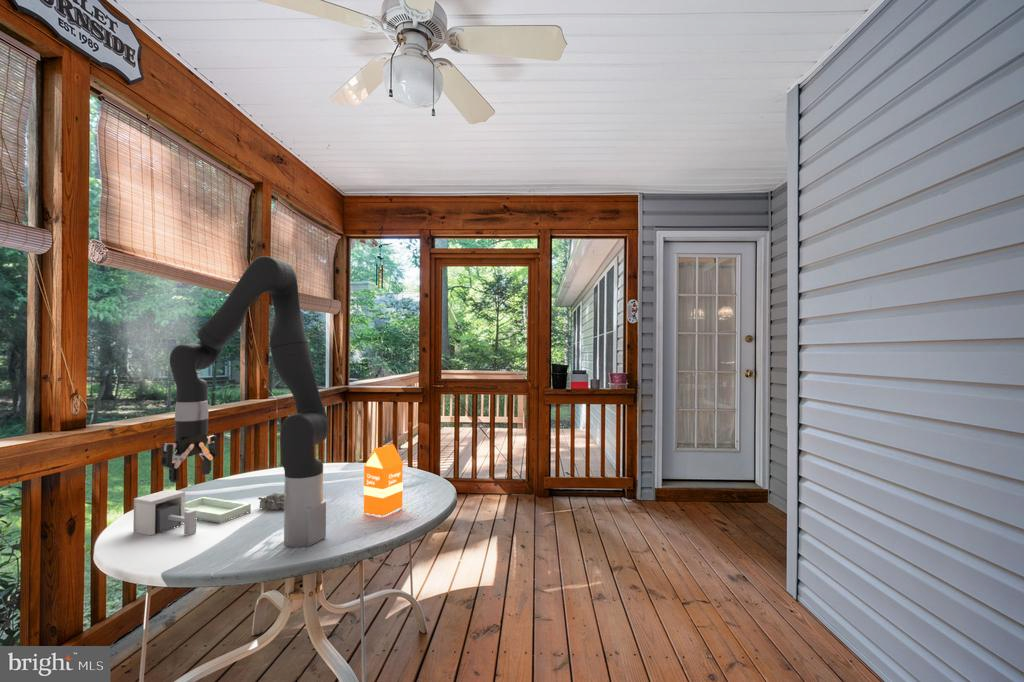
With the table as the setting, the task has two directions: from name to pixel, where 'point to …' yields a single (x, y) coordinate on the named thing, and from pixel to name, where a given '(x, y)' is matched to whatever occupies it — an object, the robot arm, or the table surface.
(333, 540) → the table surface
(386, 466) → the orange juice
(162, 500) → the bay
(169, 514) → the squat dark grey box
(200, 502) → the tray
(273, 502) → the egg carton
